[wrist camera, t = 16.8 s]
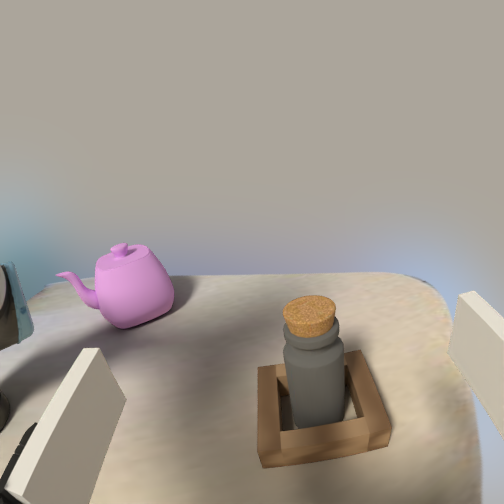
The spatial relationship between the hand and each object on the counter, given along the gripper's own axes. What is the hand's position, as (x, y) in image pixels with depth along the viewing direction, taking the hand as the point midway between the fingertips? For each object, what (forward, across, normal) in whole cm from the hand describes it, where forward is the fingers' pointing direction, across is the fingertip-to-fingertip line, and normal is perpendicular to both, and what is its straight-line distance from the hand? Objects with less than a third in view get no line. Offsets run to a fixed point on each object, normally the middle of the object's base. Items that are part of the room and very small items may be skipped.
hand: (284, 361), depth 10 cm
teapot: (+48, -30, -24) cm, 61 cm away
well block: (+16, +3, -23) cm, 28 cm away
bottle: (+16, +3, -23) cm, 28 cm away
